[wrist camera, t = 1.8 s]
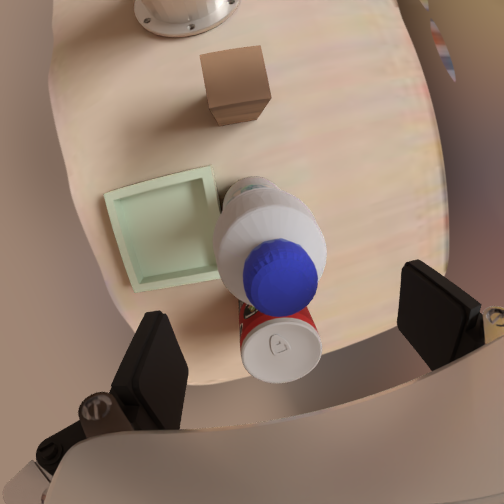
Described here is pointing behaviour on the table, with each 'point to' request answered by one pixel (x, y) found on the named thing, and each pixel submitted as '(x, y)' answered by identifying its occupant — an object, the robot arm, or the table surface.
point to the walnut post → (236, 84)
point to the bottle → (268, 247)
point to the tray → (167, 229)
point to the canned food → (278, 344)
